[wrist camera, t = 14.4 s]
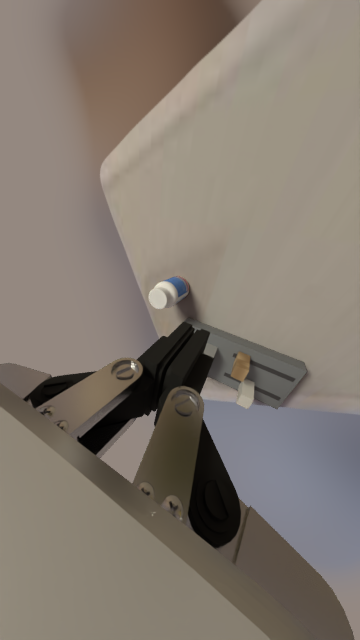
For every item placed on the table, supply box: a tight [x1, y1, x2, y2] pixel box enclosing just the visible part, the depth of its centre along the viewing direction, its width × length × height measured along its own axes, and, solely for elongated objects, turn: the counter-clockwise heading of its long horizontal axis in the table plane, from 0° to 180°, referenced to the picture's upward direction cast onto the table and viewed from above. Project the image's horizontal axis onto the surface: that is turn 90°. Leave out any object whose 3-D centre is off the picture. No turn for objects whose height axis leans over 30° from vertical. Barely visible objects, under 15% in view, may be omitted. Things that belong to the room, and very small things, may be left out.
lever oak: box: [231, 351, 250, 382], centre depth 33 cm, size 2×3×5 cm
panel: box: [184, 318, 307, 409], centre depth 37 cm, size 26×12×7 cm, turn 77°
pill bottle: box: [149, 276, 189, 309], centre depth 35 cm, size 6×5×10 cm
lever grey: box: [236, 378, 254, 409], centre depth 35 cm, size 2×3×5 cm
